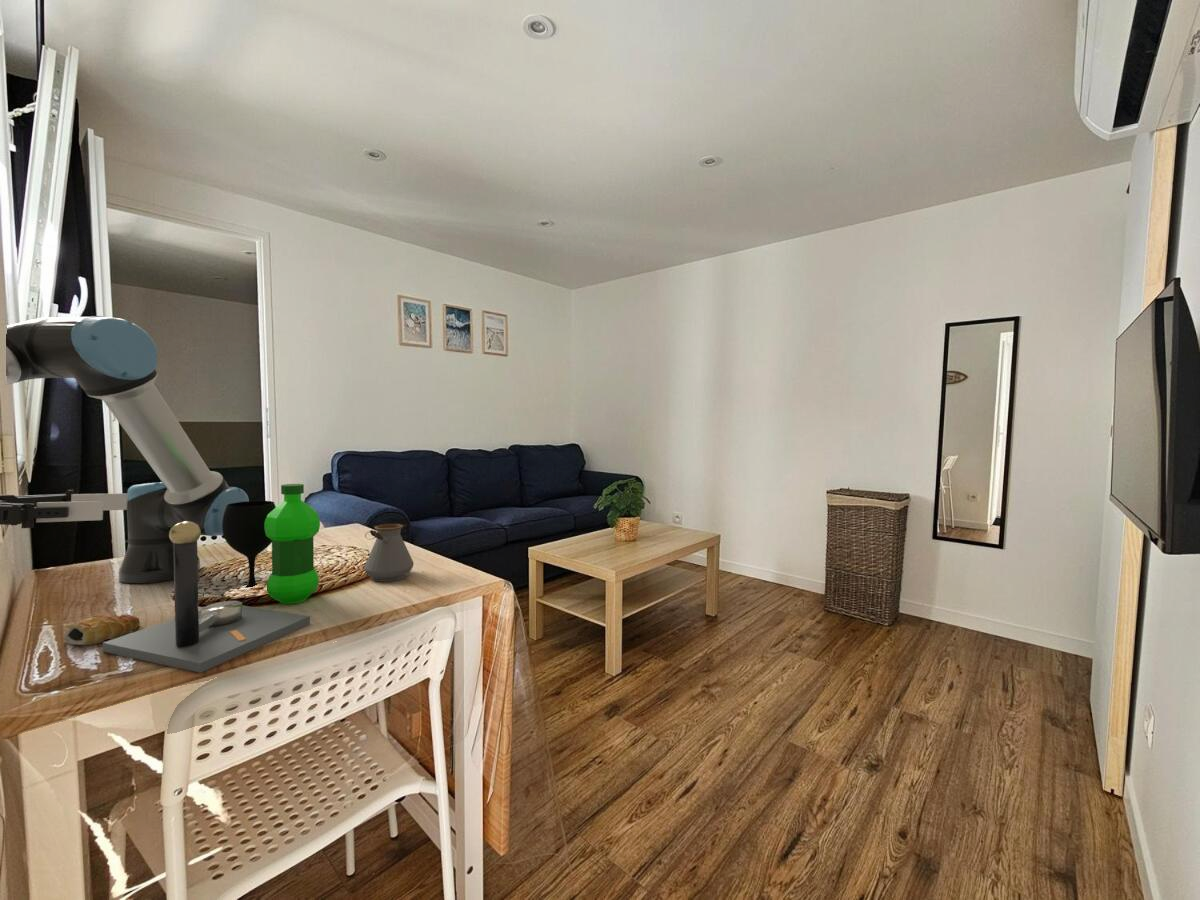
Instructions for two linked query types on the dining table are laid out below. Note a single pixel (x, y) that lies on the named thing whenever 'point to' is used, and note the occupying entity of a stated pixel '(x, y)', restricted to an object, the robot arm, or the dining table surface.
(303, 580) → the plastic bottle
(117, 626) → the pastry
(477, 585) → the dining table surface
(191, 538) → the dark post with knob
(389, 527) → the coffee pot
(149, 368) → the robot arm
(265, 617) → the base plate
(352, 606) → the dining table surface
